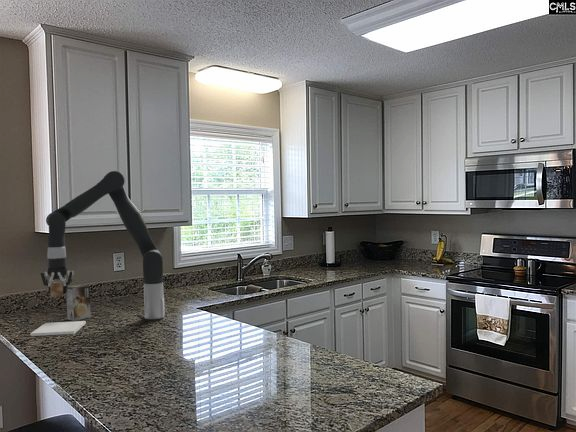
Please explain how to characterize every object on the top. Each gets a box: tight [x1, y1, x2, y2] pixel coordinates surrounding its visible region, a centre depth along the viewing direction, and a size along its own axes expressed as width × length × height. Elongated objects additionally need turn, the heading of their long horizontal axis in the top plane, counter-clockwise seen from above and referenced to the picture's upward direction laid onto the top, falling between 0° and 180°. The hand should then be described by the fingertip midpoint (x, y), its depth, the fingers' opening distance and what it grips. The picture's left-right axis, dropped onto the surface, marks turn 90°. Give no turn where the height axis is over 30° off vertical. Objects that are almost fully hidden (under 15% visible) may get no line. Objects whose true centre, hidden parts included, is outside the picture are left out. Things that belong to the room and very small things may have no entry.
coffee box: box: [66, 284, 92, 322], centre depth 237 cm, size 9×6×16 cm
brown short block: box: [50, 281, 67, 298], centre depth 216 cm, size 5×5×6 cm
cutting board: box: [30, 320, 87, 337], centre depth 217 cm, size 18×18×1 cm
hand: (58, 294), depth 217 cm, fingers closed on brown short block, 5 cm apart
